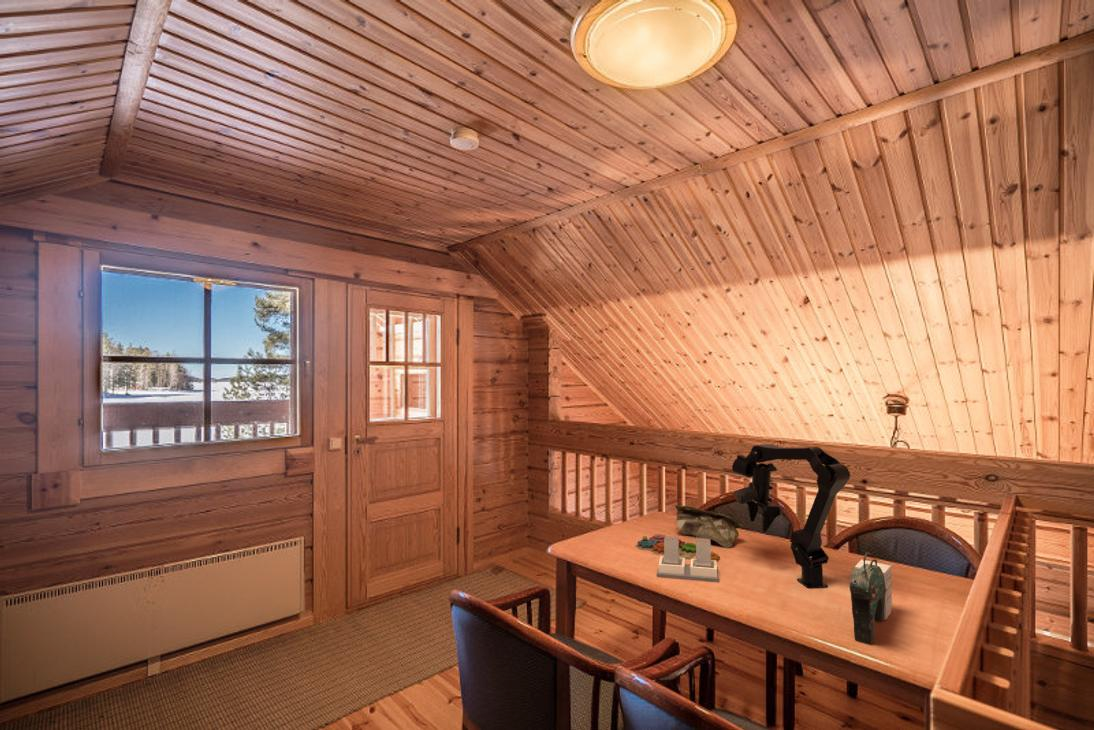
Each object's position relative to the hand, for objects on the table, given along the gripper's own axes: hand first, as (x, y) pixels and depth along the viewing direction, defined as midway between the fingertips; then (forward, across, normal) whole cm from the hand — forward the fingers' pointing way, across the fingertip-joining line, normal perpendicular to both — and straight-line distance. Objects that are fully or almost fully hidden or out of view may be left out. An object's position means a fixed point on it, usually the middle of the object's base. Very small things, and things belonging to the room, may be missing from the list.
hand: (758, 526), depth 182 cm
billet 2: (+12, +8, -21) cm, 26 cm away
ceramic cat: (+8, +48, +7) cm, 49 cm away
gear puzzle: (+16, -14, -22) cm, 31 cm away
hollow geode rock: (+16, -28, -7) cm, 33 cm away
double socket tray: (+14, +6, -26) cm, 30 cm away
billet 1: (+13, +5, -30) cm, 33 cm away
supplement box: (+9, +39, +15) cm, 42 cm away
